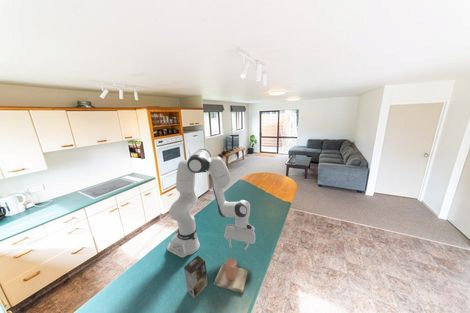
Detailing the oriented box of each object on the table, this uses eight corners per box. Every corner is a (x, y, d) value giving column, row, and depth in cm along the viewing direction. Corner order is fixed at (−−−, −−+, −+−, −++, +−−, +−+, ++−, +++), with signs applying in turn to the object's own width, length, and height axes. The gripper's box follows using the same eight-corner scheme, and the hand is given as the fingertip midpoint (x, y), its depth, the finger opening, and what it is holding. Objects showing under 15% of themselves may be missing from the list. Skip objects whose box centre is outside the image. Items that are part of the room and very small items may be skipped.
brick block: (225, 278, 91) (225, 265, 89) (228, 270, 96) (228, 257, 94) (234, 280, 90) (233, 267, 88) (237, 272, 94) (236, 259, 92)
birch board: (214, 284, 90) (214, 281, 90) (222, 266, 101) (222, 263, 101) (242, 293, 85) (242, 290, 85) (248, 272, 97) (247, 269, 96)
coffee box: (200, 278, 94) (198, 254, 90) (208, 285, 90) (205, 260, 86) (186, 291, 87) (183, 266, 83) (194, 299, 83) (191, 273, 79)
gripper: (225, 222, 110) (220, 245, 103) (255, 227, 104) (252, 252, 97) (227, 223, 115) (223, 246, 108) (256, 228, 109) (254, 252, 102)
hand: (237, 249), depth 103 cm, fingers open, 8 cm apart
